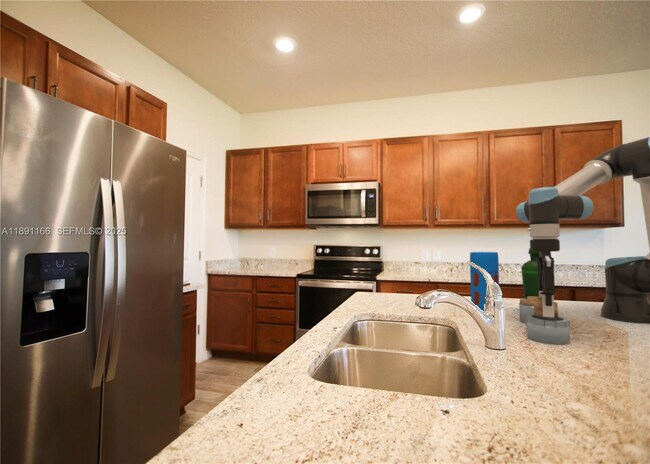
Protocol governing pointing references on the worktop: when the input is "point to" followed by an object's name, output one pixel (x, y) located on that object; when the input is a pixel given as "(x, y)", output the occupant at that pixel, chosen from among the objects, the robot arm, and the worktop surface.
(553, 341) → the canister
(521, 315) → the canister
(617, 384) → the worktop surface
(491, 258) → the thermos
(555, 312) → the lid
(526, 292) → the bottle
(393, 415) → the worktop surface
